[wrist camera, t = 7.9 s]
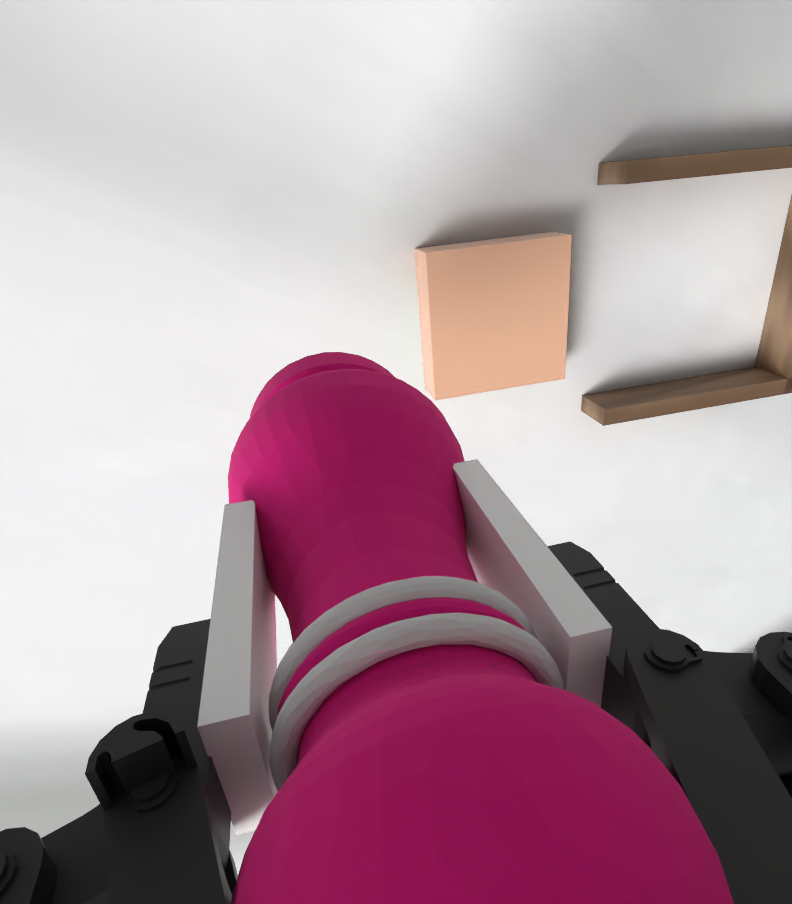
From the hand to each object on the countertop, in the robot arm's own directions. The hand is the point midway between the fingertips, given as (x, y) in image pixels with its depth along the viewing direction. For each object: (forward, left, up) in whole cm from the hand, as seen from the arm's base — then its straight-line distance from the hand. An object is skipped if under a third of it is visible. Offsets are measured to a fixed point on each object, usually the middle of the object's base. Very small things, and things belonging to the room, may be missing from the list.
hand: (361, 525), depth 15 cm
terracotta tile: (0, +12, -22) cm, 25 cm away
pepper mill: (0, 0, -7) cm, 7 cm away
